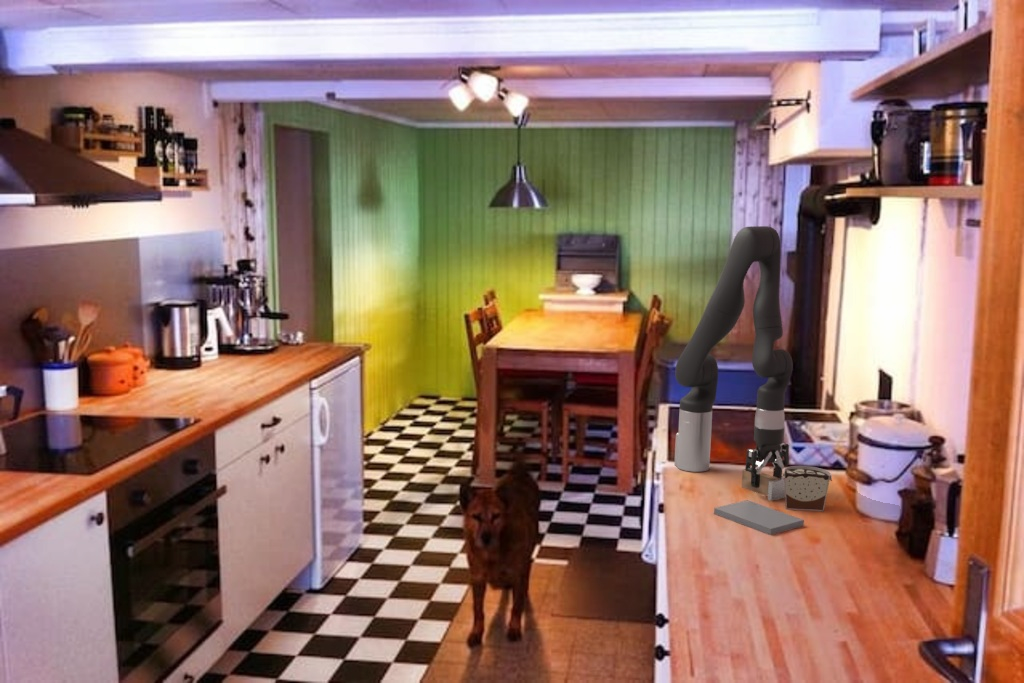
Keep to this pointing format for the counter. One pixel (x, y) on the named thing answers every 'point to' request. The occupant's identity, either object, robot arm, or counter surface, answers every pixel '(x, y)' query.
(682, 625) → the counter surface
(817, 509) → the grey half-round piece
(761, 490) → the brown and grey block
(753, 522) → the grey cutting board
